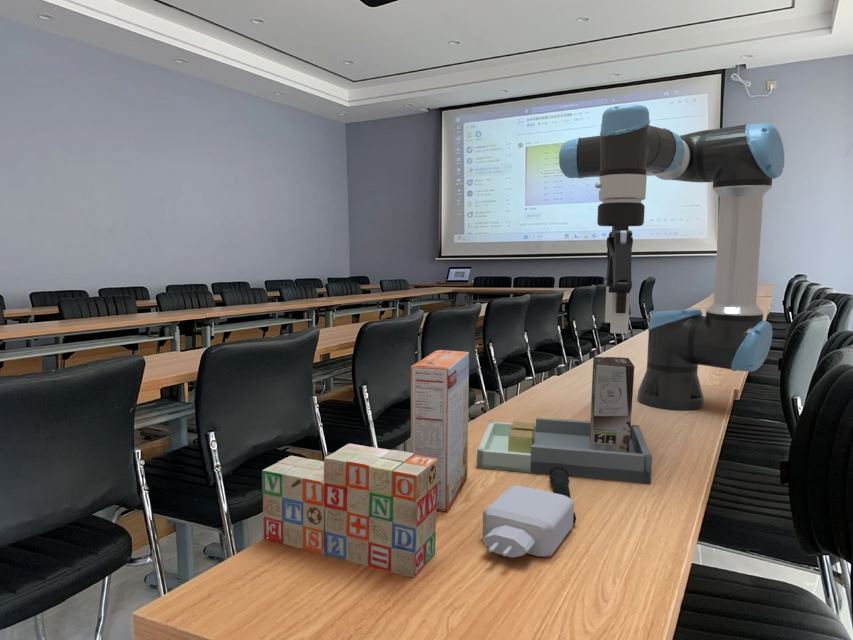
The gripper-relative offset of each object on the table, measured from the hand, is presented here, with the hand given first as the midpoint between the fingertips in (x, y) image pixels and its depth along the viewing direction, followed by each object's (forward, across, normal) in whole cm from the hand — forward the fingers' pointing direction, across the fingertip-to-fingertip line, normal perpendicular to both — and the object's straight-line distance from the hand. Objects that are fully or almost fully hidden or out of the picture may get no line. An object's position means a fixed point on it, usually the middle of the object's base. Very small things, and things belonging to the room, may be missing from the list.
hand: (615, 327), depth 105 cm
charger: (+24, +35, -13) cm, 45 cm away
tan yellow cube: (+23, +3, -16) cm, 28 cm away
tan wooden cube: (+23, -2, -16) cm, 28 cm away
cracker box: (+24, +22, -26) cm, 41 cm away
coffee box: (+22, 0, 0) cm, 22 cm away
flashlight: (+24, +20, -8) cm, 33 cm away
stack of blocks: (+23, +41, -34) cm, 58 cm away
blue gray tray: (+24, +1, -4) cm, 24 cm away
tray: (+24, +1, -18) cm, 30 cm away
